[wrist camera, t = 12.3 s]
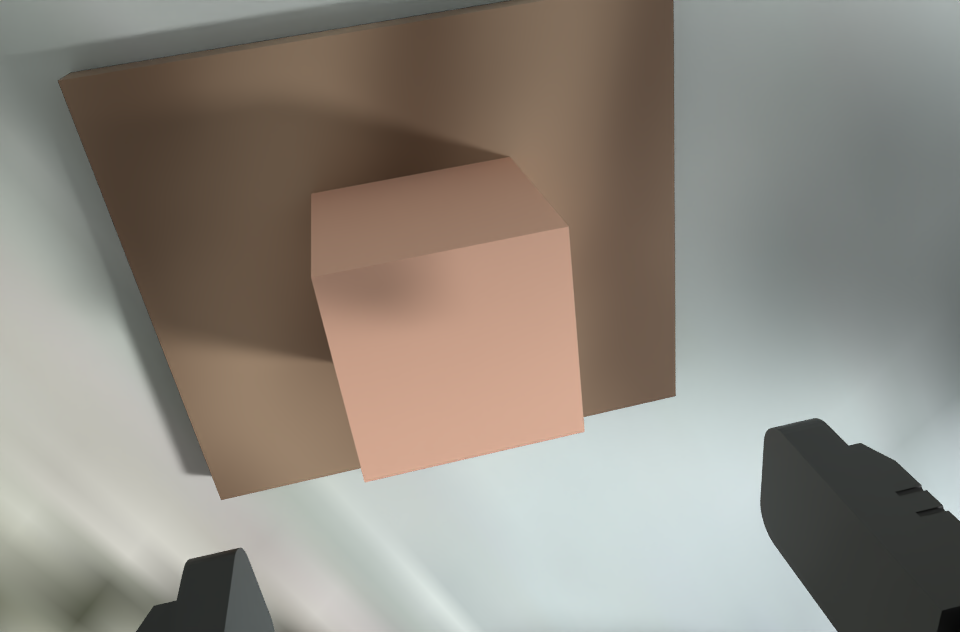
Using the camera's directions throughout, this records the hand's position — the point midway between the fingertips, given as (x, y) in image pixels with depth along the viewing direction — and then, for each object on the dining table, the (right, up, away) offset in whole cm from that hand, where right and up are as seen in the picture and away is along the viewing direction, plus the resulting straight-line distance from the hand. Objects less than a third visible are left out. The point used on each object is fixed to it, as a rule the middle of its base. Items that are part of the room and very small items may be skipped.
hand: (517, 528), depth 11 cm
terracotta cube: (-2, +5, +8) cm, 10 cm away
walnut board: (-2, +5, +9) cm, 11 cm away
